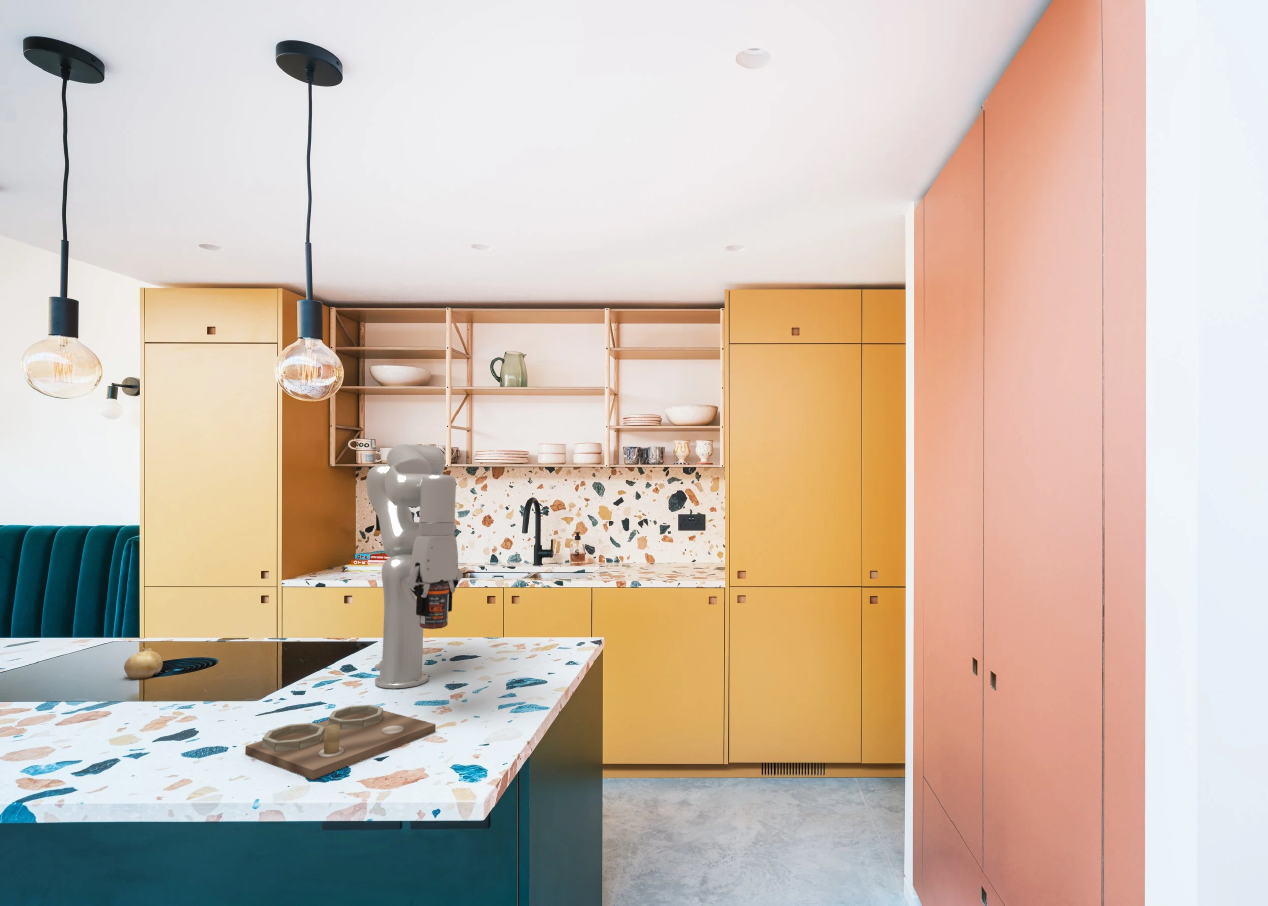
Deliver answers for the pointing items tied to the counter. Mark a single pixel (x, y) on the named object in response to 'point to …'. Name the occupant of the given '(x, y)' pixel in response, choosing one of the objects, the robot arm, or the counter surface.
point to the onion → (143, 664)
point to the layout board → (346, 741)
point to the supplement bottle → (436, 606)
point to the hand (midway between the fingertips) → (434, 612)
